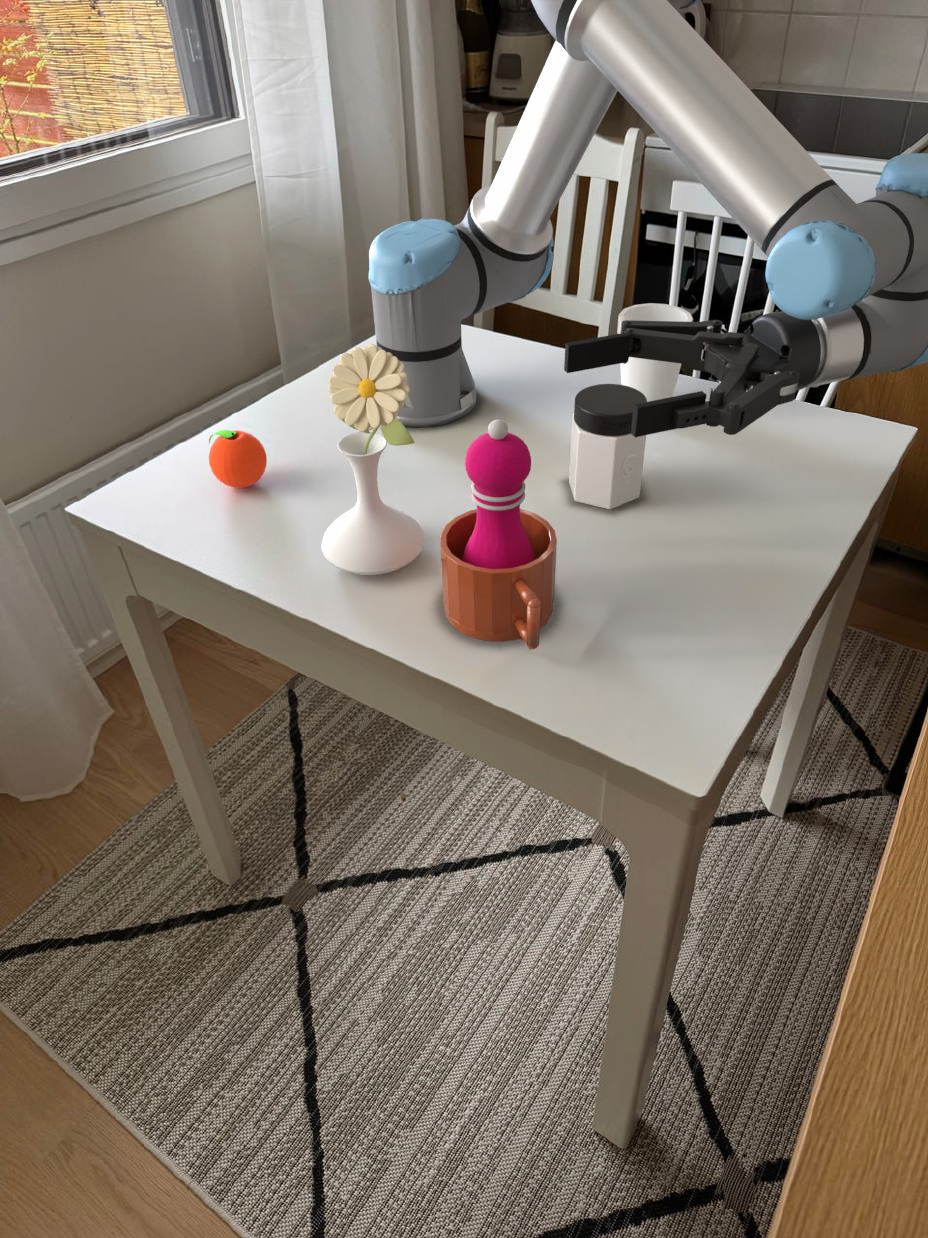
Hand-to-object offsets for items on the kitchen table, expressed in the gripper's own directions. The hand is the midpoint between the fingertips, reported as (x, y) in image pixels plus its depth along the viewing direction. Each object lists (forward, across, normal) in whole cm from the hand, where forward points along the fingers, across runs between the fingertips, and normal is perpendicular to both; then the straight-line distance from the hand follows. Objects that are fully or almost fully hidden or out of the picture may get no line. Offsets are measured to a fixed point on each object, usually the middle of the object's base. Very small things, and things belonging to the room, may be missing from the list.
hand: (597, 387), depth 81 cm
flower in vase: (+19, +13, -23) cm, 32 cm away
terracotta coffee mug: (+10, -2, -22) cm, 24 cm away
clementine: (+31, +35, -23) cm, 52 cm away
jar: (-10, +16, -22) cm, 29 cm away
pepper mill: (+10, 0, -21) cm, 23 cm away
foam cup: (-25, +33, -23) cm, 47 cm away
